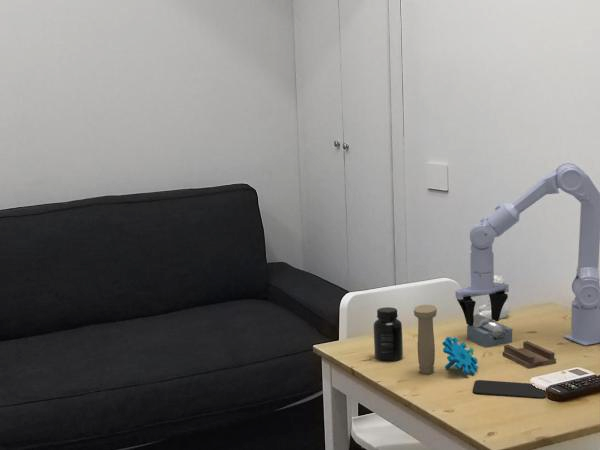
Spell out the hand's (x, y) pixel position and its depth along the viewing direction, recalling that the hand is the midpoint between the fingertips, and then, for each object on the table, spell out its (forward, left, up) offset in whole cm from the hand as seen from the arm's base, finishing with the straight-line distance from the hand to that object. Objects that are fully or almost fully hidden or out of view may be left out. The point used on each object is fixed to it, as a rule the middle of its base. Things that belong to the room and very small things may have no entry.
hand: (482, 322), depth 207 cm
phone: (+15, +33, -4) cm, 36 cm away
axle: (0, +2, 0) cm, 2 cm away
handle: (+25, +15, -4) cm, 29 cm away
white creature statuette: (-13, -14, -4) cm, 20 cm away
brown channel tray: (0, +19, -4) cm, 19 cm away
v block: (0, +3, -4) cm, 5 cm away
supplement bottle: (+28, +2, -4) cm, 28 cm away
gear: (+18, +18, -4) cm, 25 cm away
